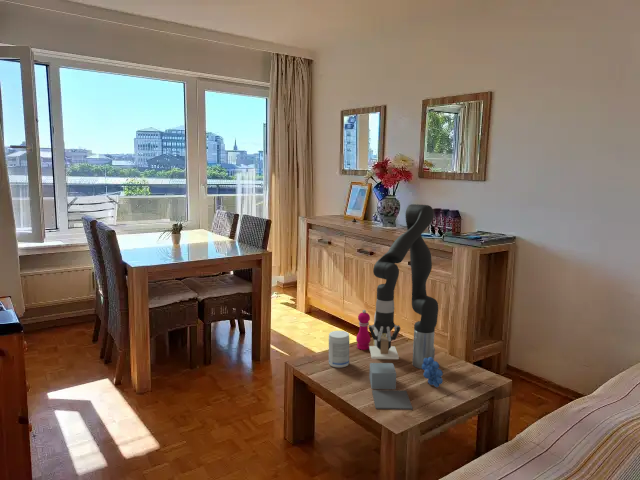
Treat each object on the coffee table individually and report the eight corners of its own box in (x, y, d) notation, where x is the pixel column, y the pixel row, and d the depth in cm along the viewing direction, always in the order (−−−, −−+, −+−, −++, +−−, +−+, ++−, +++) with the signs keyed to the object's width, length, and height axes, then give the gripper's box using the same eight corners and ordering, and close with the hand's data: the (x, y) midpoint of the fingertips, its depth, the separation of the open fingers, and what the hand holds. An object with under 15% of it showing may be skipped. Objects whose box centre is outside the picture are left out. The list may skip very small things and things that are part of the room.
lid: (394, 348, 203) (395, 334, 202) (398, 359, 192) (399, 344, 191) (369, 348, 203) (369, 333, 202) (371, 358, 192) (372, 343, 191)
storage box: (392, 378, 204) (392, 363, 203) (395, 389, 195) (396, 373, 193) (369, 378, 205) (369, 362, 203) (371, 388, 195) (372, 373, 194)
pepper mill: (371, 346, 240) (372, 308, 237) (368, 351, 234) (369, 312, 230) (358, 344, 243) (359, 306, 239) (354, 349, 236) (355, 311, 233)
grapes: (414, 381, 202) (415, 355, 200) (425, 378, 205) (427, 352, 203) (433, 393, 192) (435, 365, 190) (445, 389, 195) (447, 362, 193)
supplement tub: (353, 364, 218) (354, 334, 216) (339, 370, 212) (339, 339, 209) (338, 357, 225) (338, 328, 223) (324, 363, 219) (324, 333, 216)
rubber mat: (406, 391, 193) (406, 390, 192) (412, 409, 179) (412, 408, 179) (372, 391, 193) (372, 389, 193) (375, 408, 179) (375, 407, 179)
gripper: (400, 306, 198) (399, 345, 201) (367, 306, 198) (366, 345, 201) (403, 312, 190) (401, 352, 193) (368, 312, 191) (367, 352, 193)
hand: (383, 348), depth 197 cm, fingers closed on lid, 3 cm apart
